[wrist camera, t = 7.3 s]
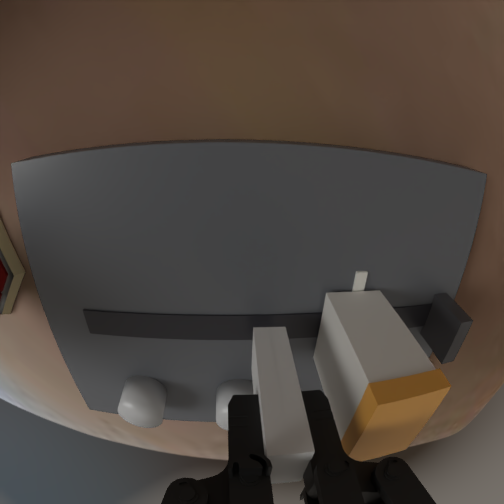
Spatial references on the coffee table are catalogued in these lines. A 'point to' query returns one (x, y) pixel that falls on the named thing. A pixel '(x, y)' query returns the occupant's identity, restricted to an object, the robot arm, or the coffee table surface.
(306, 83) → the coffee table surface
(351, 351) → the block
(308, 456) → the robot arm
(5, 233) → the figurine
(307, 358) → the console
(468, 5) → the coffee table surface
